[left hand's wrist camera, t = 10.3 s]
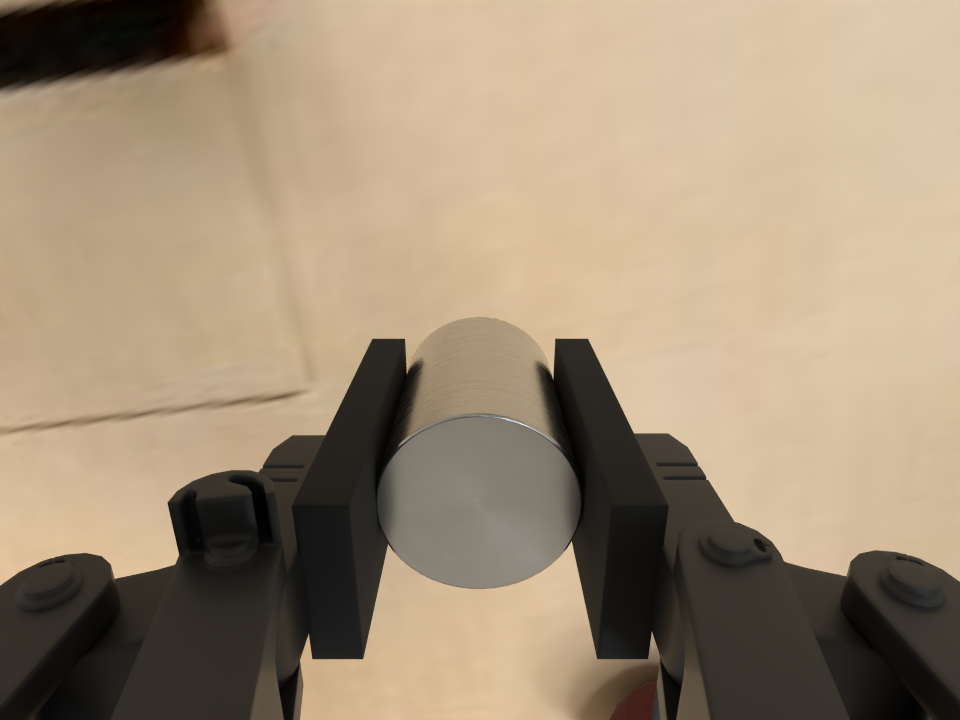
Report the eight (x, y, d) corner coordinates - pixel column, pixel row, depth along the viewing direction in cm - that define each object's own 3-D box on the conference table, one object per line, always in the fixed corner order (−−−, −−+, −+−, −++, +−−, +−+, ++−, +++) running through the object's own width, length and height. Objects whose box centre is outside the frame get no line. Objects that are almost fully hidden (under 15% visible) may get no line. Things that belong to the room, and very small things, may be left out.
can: (377, 375, 15) (330, 494, 10) (490, 286, 14) (495, 371, 9) (469, 472, 16) (465, 621, 11) (580, 394, 15) (624, 520, 10)
